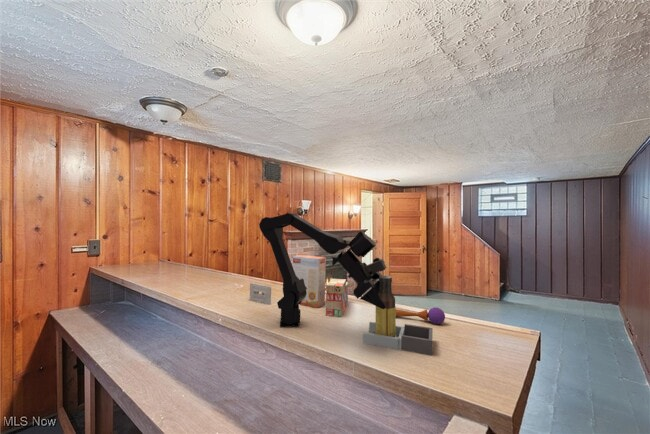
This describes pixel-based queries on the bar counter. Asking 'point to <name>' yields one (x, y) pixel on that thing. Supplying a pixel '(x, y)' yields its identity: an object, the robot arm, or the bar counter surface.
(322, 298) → the cracker box
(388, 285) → the sauce bottle
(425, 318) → the kendama
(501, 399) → the bar counter surface
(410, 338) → the grey compartment tray
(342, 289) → the printed food box
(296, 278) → the robot arm
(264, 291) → the cassette
